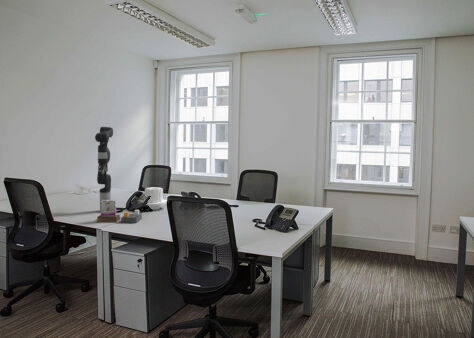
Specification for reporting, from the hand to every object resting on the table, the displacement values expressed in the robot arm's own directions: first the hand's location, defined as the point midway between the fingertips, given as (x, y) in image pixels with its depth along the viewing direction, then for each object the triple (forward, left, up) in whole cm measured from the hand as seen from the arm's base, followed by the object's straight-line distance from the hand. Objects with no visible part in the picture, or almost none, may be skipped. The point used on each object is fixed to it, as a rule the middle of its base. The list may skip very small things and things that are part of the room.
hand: (103, 177), depth 299 cm
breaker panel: (+10, +26, -33) cm, 43 cm away
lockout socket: (+11, +8, -33) cm, 36 cm away
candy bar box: (+11, +8, -33) cm, 36 cm away
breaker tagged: (+14, +23, -29) cm, 40 cm away
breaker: (+6, +29, -29) cm, 41 cm away
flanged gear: (-39, +32, -33) cm, 60 cm away
